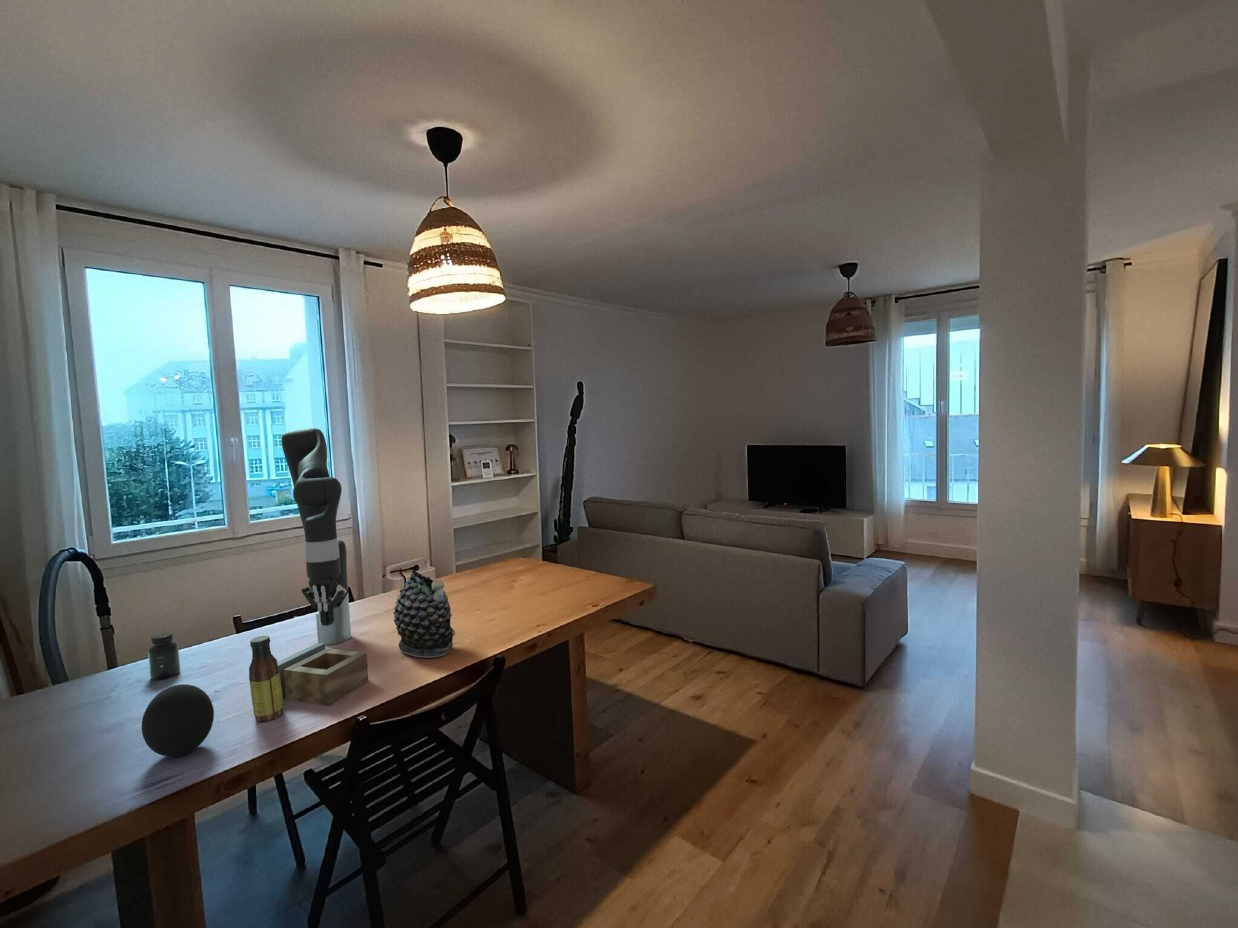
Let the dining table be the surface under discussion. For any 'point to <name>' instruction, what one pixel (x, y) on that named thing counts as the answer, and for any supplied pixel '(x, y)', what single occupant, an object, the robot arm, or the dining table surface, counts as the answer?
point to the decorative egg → (177, 720)
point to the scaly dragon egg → (423, 618)
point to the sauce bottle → (264, 681)
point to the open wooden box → (326, 676)
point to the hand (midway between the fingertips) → (327, 624)
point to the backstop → (295, 659)
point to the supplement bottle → (163, 657)
